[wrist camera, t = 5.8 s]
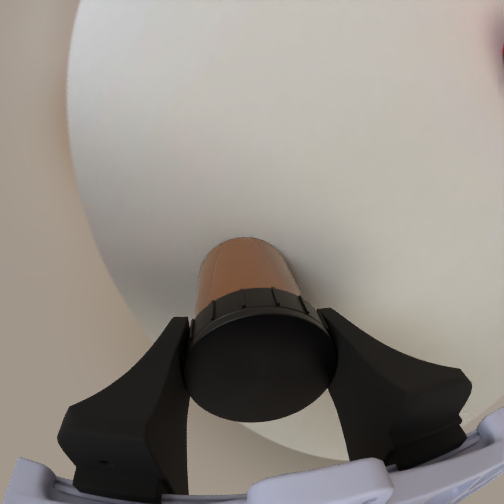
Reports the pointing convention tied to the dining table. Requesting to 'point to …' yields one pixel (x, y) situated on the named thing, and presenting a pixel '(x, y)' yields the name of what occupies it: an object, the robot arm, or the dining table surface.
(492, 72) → the dining table surface
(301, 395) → the jar lid
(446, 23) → the dining table surface
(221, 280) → the jar
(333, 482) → the robot arm
